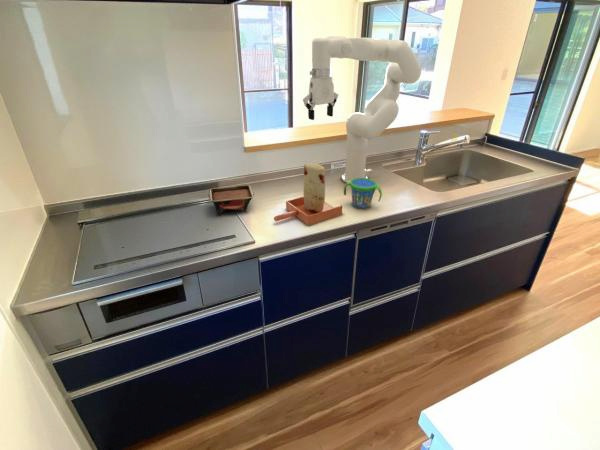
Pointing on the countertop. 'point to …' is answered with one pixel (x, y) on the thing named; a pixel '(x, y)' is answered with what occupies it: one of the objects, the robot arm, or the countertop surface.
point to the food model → (314, 187)
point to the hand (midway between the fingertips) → (320, 117)
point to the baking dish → (231, 197)
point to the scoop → (308, 212)
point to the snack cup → (362, 191)
